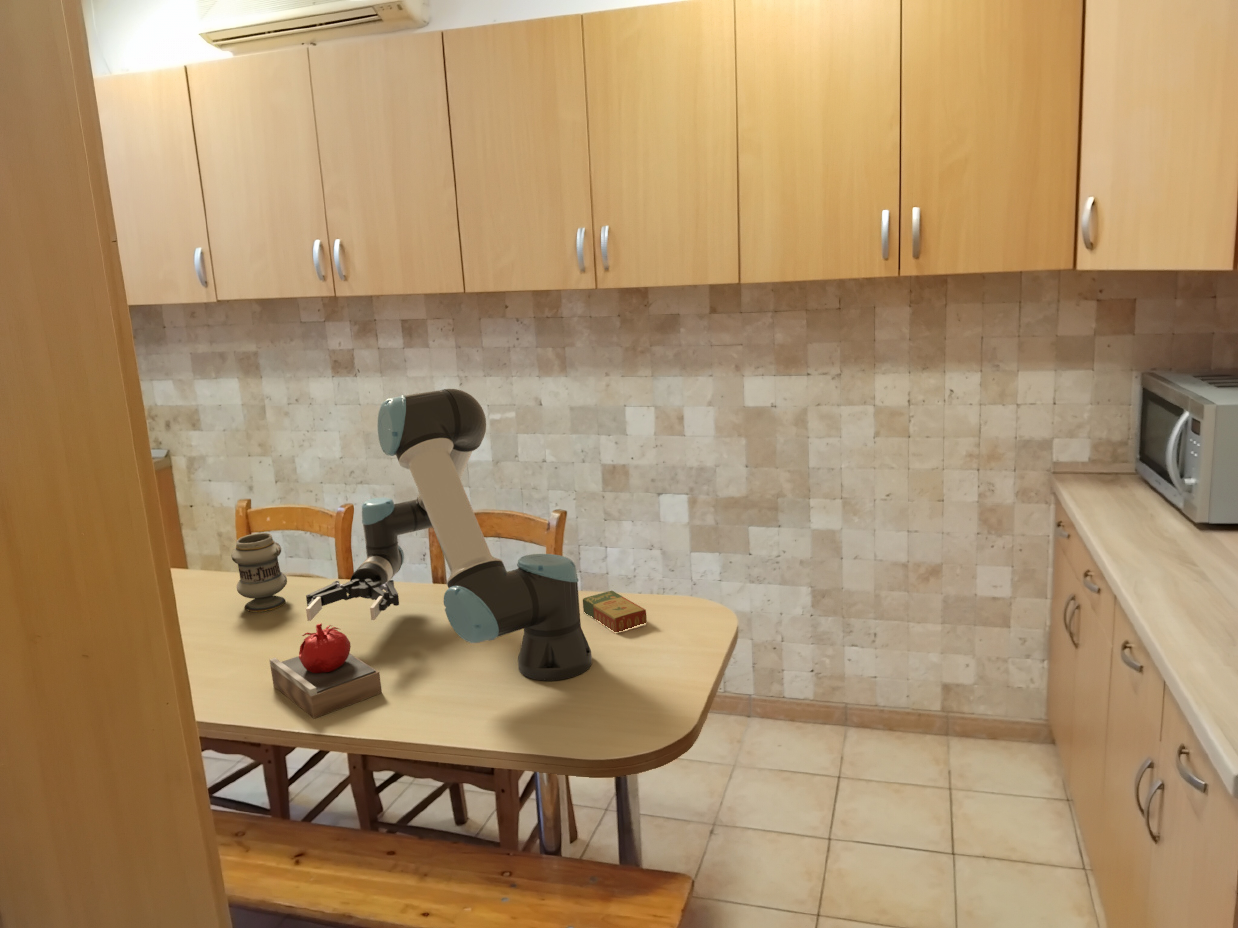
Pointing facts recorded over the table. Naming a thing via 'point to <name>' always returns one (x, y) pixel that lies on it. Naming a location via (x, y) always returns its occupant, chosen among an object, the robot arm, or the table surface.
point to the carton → (614, 611)
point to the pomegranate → (324, 650)
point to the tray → (325, 684)
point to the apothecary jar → (259, 571)
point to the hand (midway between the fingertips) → (340, 614)
